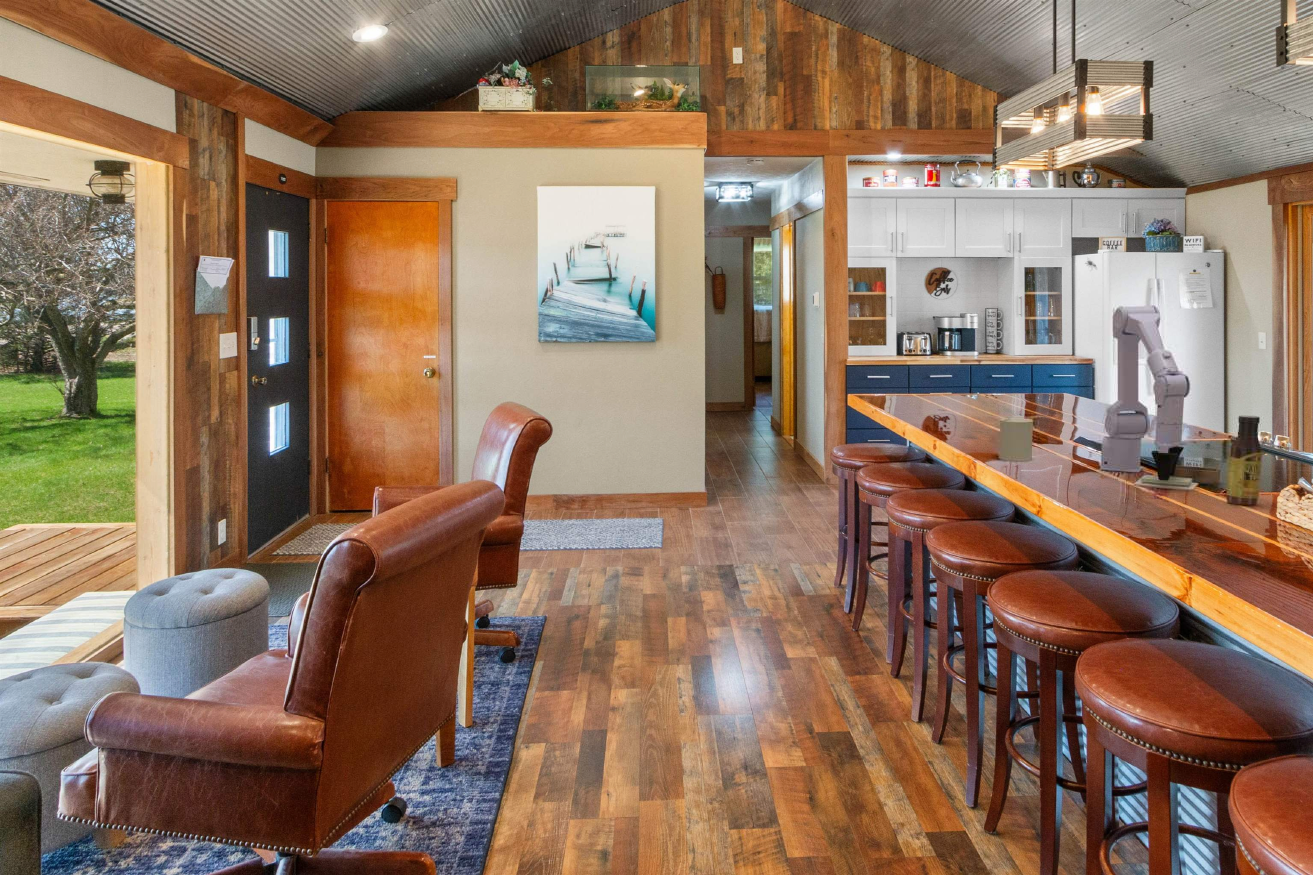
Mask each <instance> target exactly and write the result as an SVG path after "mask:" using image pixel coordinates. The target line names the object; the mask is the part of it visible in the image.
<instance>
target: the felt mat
mask: <svg viewBox="0 0 1313 875" xmlns="http://www.w3.org/2000/svg"><path fill="white" fill-rule="evenodd" d="M1141 478H1142V477H1140V478H1139V479H1138V480H1136V481H1135V483H1133V486H1135V487H1136V486H1137V487H1146V488H1147V487H1149V488H1159V489H1170V490H1182V491H1192V492H1193V491H1195V489H1196V488H1197V487H1196V486H1199V484H1198V483H1191V484H1190V485H1189V486H1188V485H1185V486H1175V485H1163V484H1152V483H1147V482H1141Z"/></svg>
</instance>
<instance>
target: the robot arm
mask: <svg viewBox="0 0 1313 875" xmlns="http://www.w3.org/2000/svg"><path fill="white" fill-rule="evenodd" d="M1160 323H1161V313H1160V310H1159V308H1158V306H1156V305H1150V306H1148V305H1147V306H1146V305H1145V306H1144V305H1143V306H1141V305H1140V306H1138V305H1137V306H1118V307H1117V308H1116V310H1115V311H1114V313H1113V315H1112V336H1113V338H1115V339H1116V340H1117V400H1116V401H1115V402H1113V403H1112V404H1111V405H1109V407H1107V408H1106V416H1105V420H1104V429H1105V433H1107V434H1108V436H1107V435H1106V436H1104V437H1103V438H1102V442H1101V451H1100V452H1101V453H1100V468H1099V470H1103V471H1112V472H1113V471H1114V472H1125V473H1137V474H1138V473H1140V472H1141V471H1142V470H1143V469H1144V466H1141V453H1142V452H1141V450H1142V448H1141V447H1142V439H1144V438H1145V436H1146V435H1147V433H1148V432H1149V431H1150V427H1151V422H1150V421H1151V420H1150V417H1149V412H1148V407H1147V406H1146V405H1144V404H1143V403H1142V402H1140V401H1139V343H1140V342H1142V344H1143V346H1144V347H1145V349H1146V352H1147V353H1148V354H1149V356H1148V357H1147V360H1146V362H1147V365H1148V367H1149V370H1150V372H1151V374H1152V377H1153V380H1154V383H1153V385H1152V386H1153V388H1152V390H1153V394H1154V402H1155V405H1156V406H1157V407H1156V422H1155V439H1154V443H1153V444H1154V445H1156V446H1157V449H1158V450H1151V453H1150V454H1151V456H1152V458H1153V459H1154V463H1155V467H1156V473H1157V476H1158V479H1159V480H1165V481H1168V480H1169V477H1171V476H1172V475H1174V472H1175V469H1176V465H1177V464H1178V461H1179V458H1180V455H1181V454H1182V452H1183V451H1184V448H1185V447H1184V446H1187V444H1188V442H1187V441H1183V440H1182V437H1183V436H1182V435H1183V423H1184V422H1183V419H1184V408H1185V407H1184V404H1185V398H1187V397H1188V396H1189V394H1190V390H1191V382H1190V378H1189V376H1188V375H1187V374H1185V373H1184V372H1183V371H1181V370H1179V367H1178V365H1177V364H1176V361H1175V359H1174V357H1173V354H1172V352H1170V351H1169V350H1166V349H1165V347H1164V344H1163V340H1162V337H1161V333H1160V331H1159V326H1160ZM1177 466H1178V465H1177Z"/></svg>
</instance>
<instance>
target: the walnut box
mask: <svg viewBox="0 0 1313 875" xmlns="http://www.w3.org/2000/svg"><path fill="white" fill-rule="evenodd" d="M1220 476H1221V468H1216V467H1215V468H1214V467H1203V466H1202V467H1200V466H1189V465H1188V466H1187V465H1176V469H1175V472H1174V475H1171V477H1179V478H1191V479H1192V483H1198V485H1201V484H1207V485H1206V486H1213V485H1217V486H1218V485H1219V484H1220ZM1218 483H1219V484H1218Z"/></svg>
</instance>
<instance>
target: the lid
mask: <svg viewBox="0 0 1313 875" xmlns="http://www.w3.org/2000/svg"><path fill="white" fill-rule="evenodd" d="M1140 478H1141V482H1147V483H1152V484H1163V485H1175V486H1185V485H1188V486H1189V485H1190V484H1191V483H1192V479H1191V478H1179V477H1172V476H1170V477H1169V480H1168V481H1165V480H1159V479H1158V475H1153V474H1152V475H1151V474H1144V475H1143V476H1142V477H1140Z"/></svg>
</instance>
